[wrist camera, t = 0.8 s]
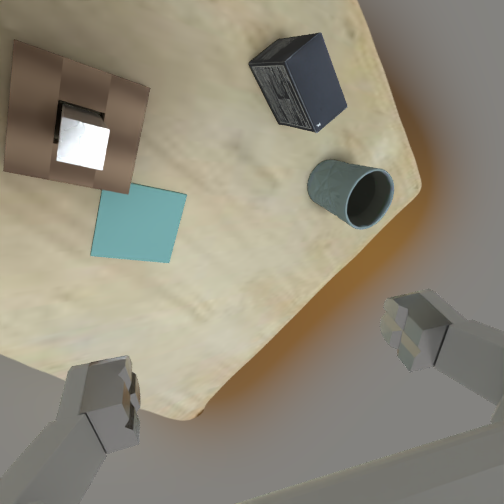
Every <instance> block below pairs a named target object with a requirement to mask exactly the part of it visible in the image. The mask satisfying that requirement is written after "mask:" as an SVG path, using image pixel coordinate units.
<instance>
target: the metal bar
mask: <svg viewBox="0 0 504 504" xmlns="http://www.w3.org/2000/svg"><path fill="white" fill-rule="evenodd" d="M108 136H109V128H108V127H107V125H106V124H105V123H104V121H103V120H102V118H101V117H100V115H99V114H98V113H94V112H91V111H88V110H84V109H81V108H78V107H74V106H71V105H67V104H64V103H63V106H62V113H61V121H60V129H59V137H58V149H57V160H56V161H61V162H66V163H70V164H75V165H80V166H84V167H89V168H94V169H98V170H103V165H104V159H105V153H106V148H107V142H108Z"/></svg>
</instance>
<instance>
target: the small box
mask: <svg viewBox="0 0 504 504" xmlns="http://www.w3.org/2000/svg"><path fill="white" fill-rule="evenodd" d="M249 66H250V68H251V70H252V72H253V74H254V76H255V78H256V80H257V82H258V84H259V86H260V88H261V90H262V92H263V94H264V96H265V98H266V100H267V102H268V104H269V106H270V108H271V110H272V112H273V114H274V116H275V118H276V120H277V121H278V124H280V125H286V126H290V127H295V128H299V129H303V130H307V131H312V132H315V133H318V132H319V131H320V130H321V129H322V128H324V127H325V126H326V125H327V124H328V123H329V122H331V121H332V120H333V119H334V118H335V117H336V116H338V115H339V114H340V113H341V112H342V111H343V110H345V109H346V108H347V104H346V101H345V98H344V95H343V92H342V90H341V87H340V84H339V81H338V79H337V76H336V73H335V70H334V67H333V65H332V62H331V59H330V56H329V53H328V50H327V48H326V45H325V42H324V39H323V36H322V33H315V34H309V35H302V36H296V37H289V38H283V39H278V40H277V41H275V42H274V43H273V44H271V45H270V46H269V47H268V48H266V49H265V50H264V51H263V52H261V53H260V54H259V55H258V56H256V57H255V58H254V59H253V60H251V61H250V62H249Z"/></svg>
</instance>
